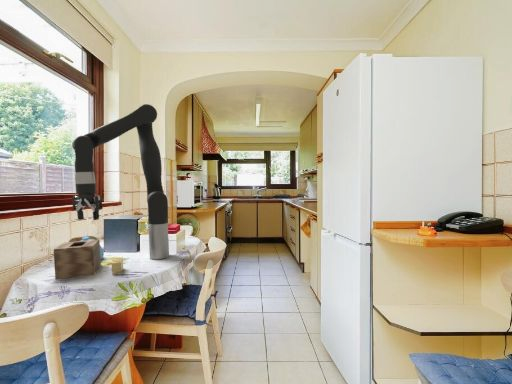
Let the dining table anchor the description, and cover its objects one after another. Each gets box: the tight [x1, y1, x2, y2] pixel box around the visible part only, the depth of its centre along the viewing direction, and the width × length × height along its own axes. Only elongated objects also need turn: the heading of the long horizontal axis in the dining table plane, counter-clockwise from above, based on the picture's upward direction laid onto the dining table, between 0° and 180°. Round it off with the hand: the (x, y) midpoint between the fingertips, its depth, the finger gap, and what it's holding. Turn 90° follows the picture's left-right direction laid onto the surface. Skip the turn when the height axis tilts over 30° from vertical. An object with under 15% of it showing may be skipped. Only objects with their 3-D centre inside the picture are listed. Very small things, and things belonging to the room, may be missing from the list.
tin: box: [68, 235, 99, 242], centre depth 161 cm, size 15×3×8 cm, turn 114°
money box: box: [53, 239, 101, 279], centre depth 125 cm, size 14×14×12 cm
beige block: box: [111, 257, 124, 275], centre depth 123 cm, size 4×7×5 cm, turn 19°
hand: (88, 219), depth 126 cm, fingers open, 8 cm apart
